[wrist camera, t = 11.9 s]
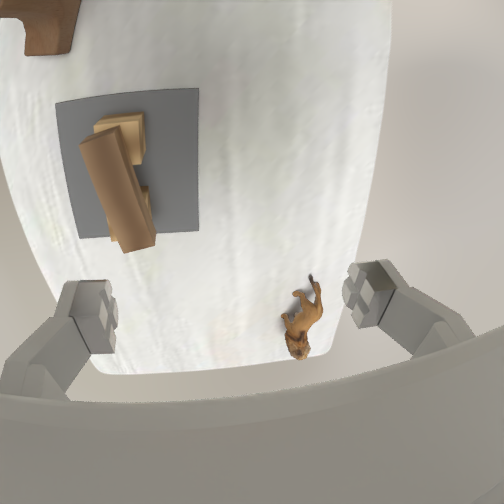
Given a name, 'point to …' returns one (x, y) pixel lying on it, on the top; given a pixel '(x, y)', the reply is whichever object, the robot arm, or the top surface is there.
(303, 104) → the top surface
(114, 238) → the cube
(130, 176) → the lintel
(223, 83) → the top surface
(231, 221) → the top surface
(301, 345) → the lion figurine
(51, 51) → the wooden block
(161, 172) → the mat
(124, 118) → the cube
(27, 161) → the top surface
